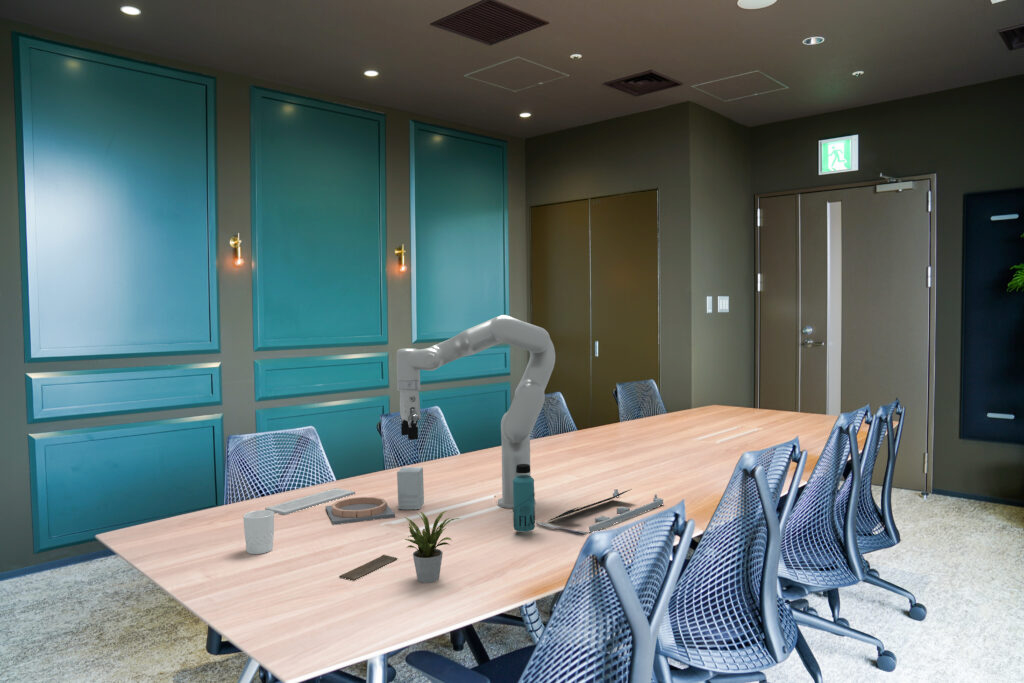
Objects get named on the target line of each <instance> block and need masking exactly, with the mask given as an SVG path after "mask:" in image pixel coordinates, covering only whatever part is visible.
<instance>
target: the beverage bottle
mask: <svg viewBox="0 0 1024 683" xmlns="http://www.w3.org/2000/svg"><path fill="white" fill-rule="evenodd" d="M516 472H517V473H529V472H530V473H531V464H530V465H529V464H518V465H517V466H516ZM535 495H536V492H535V479H534V477H532V476H531V475H530V476H529V475H518V476H516V477H515V478H514V479H513V508H512V512H513V513H512V514H513V516H512V520H513V521H512V522H513V523H512V524H513V525H512V526H513V530H514V531H516V532H521V533H522V532H523V533H527V532H531V531H534V530H535V528H536V507H535V506H536V505H534V502H535V500H536V498H535V497H536V496H535Z"/></svg>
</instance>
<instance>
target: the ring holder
mask: <svg viewBox="0 0 1024 683" xmlns="http://www.w3.org/2000/svg"><path fill="white" fill-rule="evenodd" d="M325 510H327V511H326V513H327V512H328V513H327V514H329V515H328V517H329V516H330V517H329V519H330V518H331V519H330V521H331V520H332V521H331V523H332V525H333V524H335V525H342V524H341V523H343V524H348V523H347V522H351V523H357V522H356V521H359V522H365V521H364V520H367V521H374V520H373V519H375V520H382V519H381V518H383V519H390V517H391V518H396V513H395V512H394V511H393V509H391V507H390V506H389V505H388V502H387V501H386V500H385V499H384V498H380V497H376V496H355V497H348V498H343V499H339V500H336V501H335V502H334V503H332V504H331V505H326V506H325Z"/></svg>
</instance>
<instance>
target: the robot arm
mask: <svg viewBox="0 0 1024 683" xmlns="http://www.w3.org/2000/svg"><path fill="white" fill-rule="evenodd" d="M502 343H505V344H508V345H510V346H514V347H517V348H519V349H522V350H525V351H528V352H529V359H528V362H527V365H526V368H525V371H523V372H524V373H523V375H522V377H521V378H520V381H519V383H518V385H517V386H516V389H515V392H514V397H513V399H512V402H511V404H510V405H509V409H508V410H507V411H506V412H505V413H504V414H503V416H502V417H501V421H500V435H501V440H500V441H501V485H502V486H501V490H502V492H501V493H502V494H501V497H500V498H499V499H497V505H498V506H499V507H502V508H505V509H513V479H514V478H515V477H516V476H518V475H529V476H531V471H530V472H529V473H517V472H516V466H517V465H518V464H529V465H530V466H531V433H532V431H533V430H534V427H535V424H536V422H537V420H538V418H539V416H540V413H541V412H542V409H543V407H544V403H545V399H546V395H545V394H546V393H545V390H546V388H547V385H548V383H549V381H550V378H551V376H552V373H553V370H554V368H555V363H556V351H555V346H554V343H553V341H552V339H551V336H550V334H549V332H548V331H547V330H546V329H545V328H543V327H542V326H541V327H540V326H537V325H535V324H532V323H529V322H526V321H523V320H520V319H518V318H515V317H513V316H511V315H507V314H501V315H498V316H495V317H493V318H490V319H488V320H485V321H484V322H482V323H479V324H477V325H474V326H472V327H469V328H468V329H464V330H463V331H461V332H460V333H458V334H456V335H455V336H453V337H450V338H449V339H446V340H444V341H441V342H439V343H437V344H433V345H431V346H429V347H427V348H421V349H418V348H414V347H412V348H411V347H408V348H407V347H406V348H399V349H397V352H396V386H397V387H396V389H397V391H398V392H399V414H400V419H401V421H400V428H401V429H400V430H401V432H400V434H401V436H407V439H408V441H411V440H413V441H414V440H418V439H419V424H418V421H420V420H421V416H422V415H421V403H420V392H419V391H421V371H427V372H428V371H430V372H431V371H432V372H433V371H435V370H438V369H439V368H440V367H442V366H445V365H447V364H448V363H451V362H454V361H456V360H458V359H461V358H463V357H469V356H473V355H475V354H478V353H480V352H483V351H485V350H488V349H489V348H491V347H494V346H496V345H499V344H502ZM536 504H537V500H536V499H535V502H534V506H536Z"/></svg>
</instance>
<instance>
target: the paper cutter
mask: <svg viewBox="0 0 1024 683" xmlns="http://www.w3.org/2000/svg"><path fill="white" fill-rule="evenodd" d="M631 490H633V489H632V488H630V489H628V490H625V491H622V492H619V489H618V488H617V489H614V490H613V493H612V496H611V497H608V498H604V499H602V500H600V501H597V502H594V503H593V502H592V503H591V504H587V505H585V506H582V507H575V508H573V509H569V510H566V511H564V512H562V513H561V514H558V515H556V516H555V517H553V518H551V519H549V520H548V522H550V521H554V520H557V519H559V518H561V517H564V516H567V515H570V514H573V513H576V512H579V511H582V510H584V509H587V508H590V507H593V506H596V505H599V504H602V503H605V502H607V501H610V500H613V499H616V498H615V497H617V496H619V497H620V496H621V495H623V494H625V493H627V492H630V491H631ZM617 498H618V497H617ZM662 504H663V505H664V499H663V498H660V497H658V494H654V497H653V500H652V502H650V503H646V504H643V505H642V506H641V505H640V506H639V507H636V508H634V509H630V508H631V507H625V506H617V508H616V515H615V516H612V517H610V516H605V515H600V516H597V517H595V518H594V524H592V525H589V526H588V532H587V531H584V530H583V531H582V530H576V531H575V532H576V533H581V534H585V535H588V534H592V533H591V532H593V531H597V530H599V531H602V530H603V529H601V528H604V529H606V528H605V527H607V528H609V527H611V526H614V525H615V524H614V523H616V522H619V523H621V522H620V521H622V522H624V521H626V520H625V519H627V520H629V519H631V517H632V518H634V517H633V516H635V515H637V516H639V515H638V514H640V513H642V514H644V513H643V512H645V511H647V512H649V511H648V510H650V511H652V510H654V509H653V508H655V509H657V508H659V507H658V506H659V505H662ZM663 505H662V506H663ZM656 507H657V508H656ZM651 509H652V510H651ZM645 513H646V512H645ZM617 514H620V515H617ZM640 515H641V514H640ZM635 517H636V516H635ZM628 518H629V519H628ZM623 520H624V521H623ZM596 522H599V523H596ZM535 523H537V524H539V525H540V526H544V527H548V528H555V529H562V526H557V525H552V524H549V523H545V522H542V521H536V520H535ZM613 524H614V525H613ZM563 529H564V530H566V528H565V527H563ZM567 530H570V529H568V528H567ZM589 531H590V532H589ZM571 532H574V530H572V529H571ZM597 532H598V531H597ZM586 533H587V534H586Z"/></svg>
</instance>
